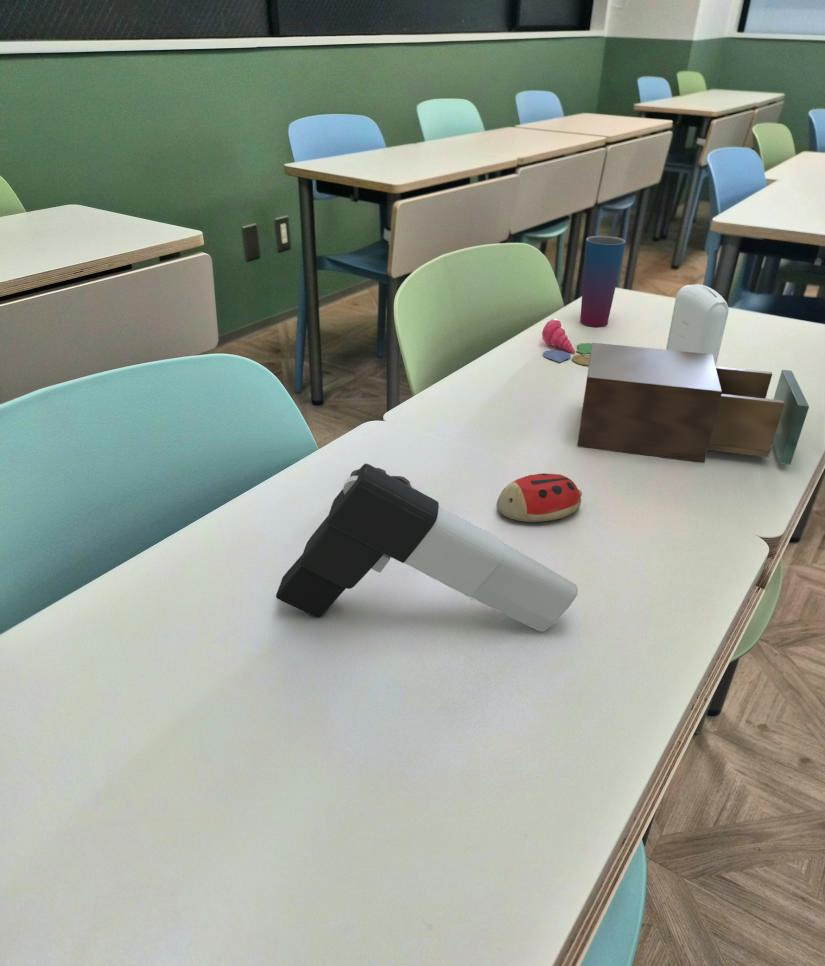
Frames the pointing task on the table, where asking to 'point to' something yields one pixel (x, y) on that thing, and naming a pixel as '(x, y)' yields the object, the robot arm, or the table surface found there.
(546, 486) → the ladybug figurine
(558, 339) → the toy pieces
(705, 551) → the table surface
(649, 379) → the cabinet
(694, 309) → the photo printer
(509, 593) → the handheld device
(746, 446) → the drawer
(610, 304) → the cup
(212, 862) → the table surface
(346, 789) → the table surface
